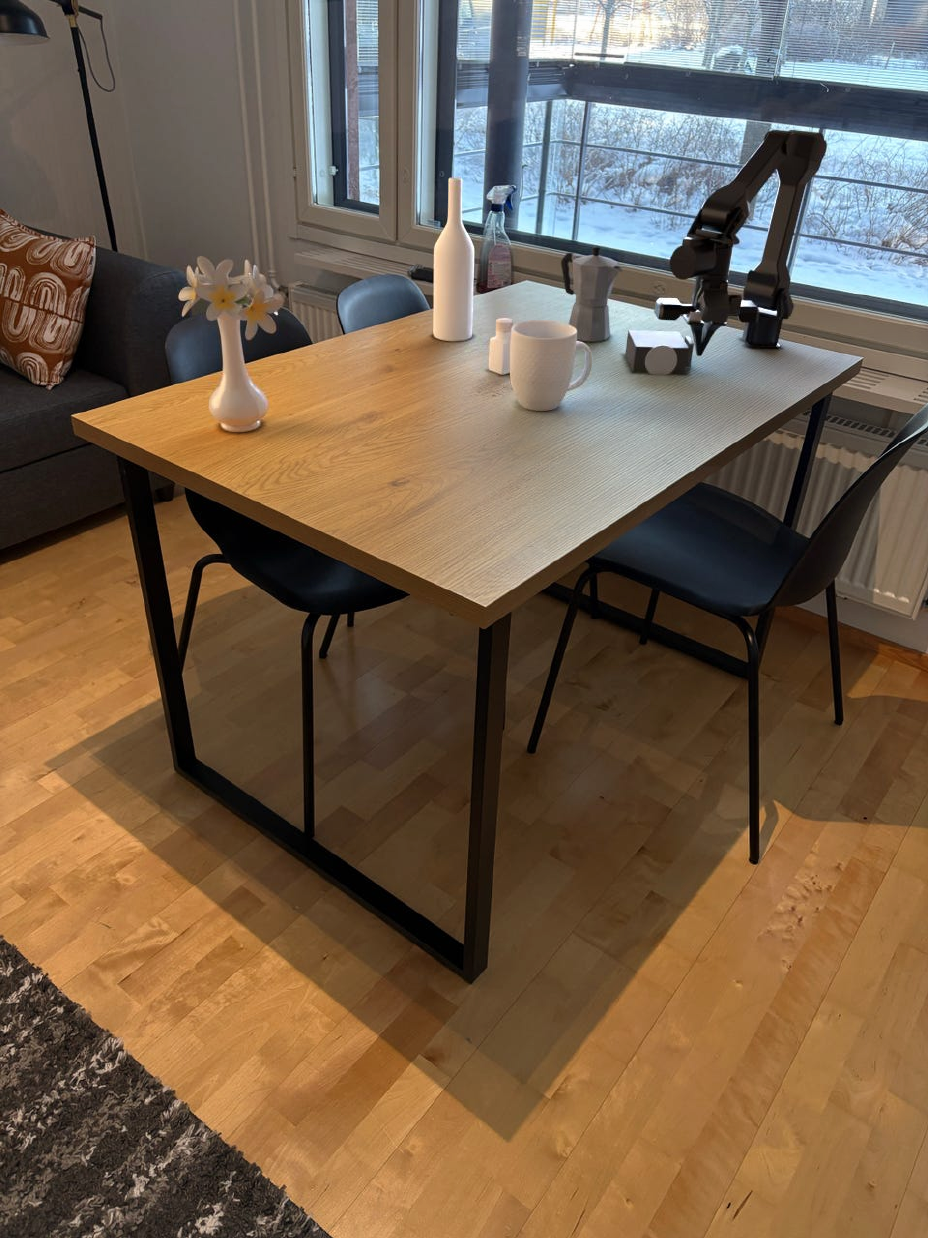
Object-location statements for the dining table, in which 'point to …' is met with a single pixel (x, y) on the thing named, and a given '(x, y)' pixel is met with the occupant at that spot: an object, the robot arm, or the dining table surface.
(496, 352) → the pepper shaker
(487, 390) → the dining table surface
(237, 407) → the flower vase
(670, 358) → the tape case
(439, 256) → the bottle
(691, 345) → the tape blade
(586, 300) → the coffeepot
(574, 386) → the mug
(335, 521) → the dining table surface
